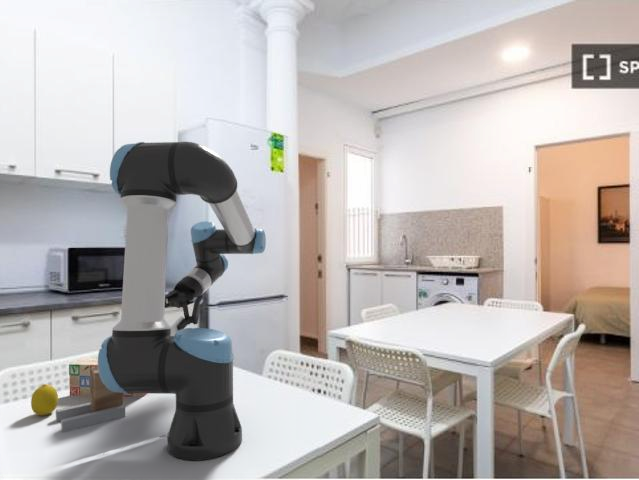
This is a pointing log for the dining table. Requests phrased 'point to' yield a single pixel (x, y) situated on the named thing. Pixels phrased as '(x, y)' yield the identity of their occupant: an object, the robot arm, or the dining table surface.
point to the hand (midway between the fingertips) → (145, 331)
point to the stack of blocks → (85, 377)
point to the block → (102, 393)
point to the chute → (86, 416)
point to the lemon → (44, 400)
